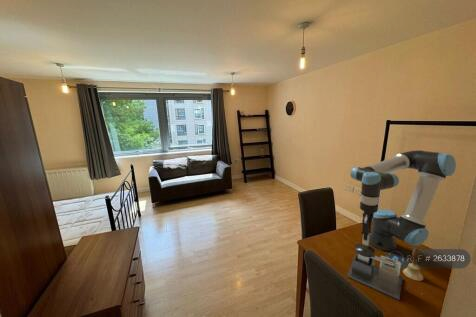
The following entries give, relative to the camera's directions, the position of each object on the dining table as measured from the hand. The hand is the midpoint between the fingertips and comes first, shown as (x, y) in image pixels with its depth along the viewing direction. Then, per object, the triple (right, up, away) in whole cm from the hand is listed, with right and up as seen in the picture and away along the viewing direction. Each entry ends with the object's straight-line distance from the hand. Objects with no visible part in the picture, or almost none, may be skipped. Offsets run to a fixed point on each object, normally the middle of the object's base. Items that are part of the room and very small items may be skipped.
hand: (365, 244), depth 105 cm
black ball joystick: (+4, -12, 0) cm, 12 cm away
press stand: (+5, -18, 0) cm, 19 cm away
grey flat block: (+7, -7, -7) cm, 13 cm away
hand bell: (+26, -17, +1) cm, 31 cm away
